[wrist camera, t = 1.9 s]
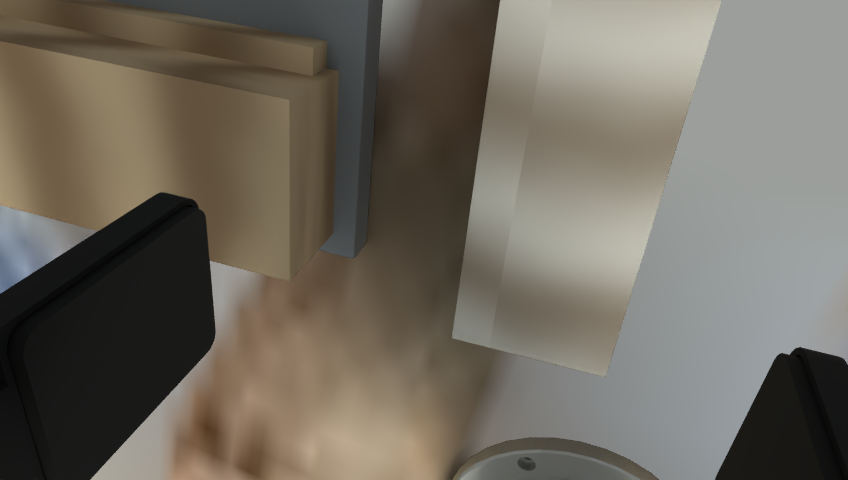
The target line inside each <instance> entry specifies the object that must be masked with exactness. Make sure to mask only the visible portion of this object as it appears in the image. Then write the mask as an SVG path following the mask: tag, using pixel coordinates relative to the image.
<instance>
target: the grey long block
mask: <svg viewBox="0 0 848 480" xmlns="http://www.w3.org/2000/svg"><path fill="white" fill-rule="evenodd" d="M721 1H722V0H500V5H499V12H498V19H497V26H496V33H495V40H494V47H493V54H492V61H491V68H490V75H489V82H488V89H487V96H486V103H485V110H484V117H483V124H482V131H481V138H480V145H479V152H478V159H477V166H476V173H475V180H474V187H473V194H472V201H471V208H470V215H469V222H468V229H467V236H466V243H465V250H464V257H463V264H462V270H461V277H460V284H459V291H458V298H457V305H456V312H455V319H454V326H453V333H452V338H453V339H457V340H461V341H465V342H469V343H473V344H477V345H481V346H484V347H488V348H492V349H496V350H500V351H504V352H508V353H512V354H516V355H520V356H524V357H527V358H531V359H535V360H539V361H543V362H547V363H551V364H555V365H559V366H563V367H567V368H570V369H574V370H578V371H583V372H587V373H590V374H594V375H598V376H602V377H606V374H607V371H608V368H609V364H610V361H611V358H612V355H613V351H614V348H615V345H616V342H617V339H618V335H619V332H620V329H621V325H622V322H623V319H624V316H625V312H626V309H627V306H628V303H629V300H630V296H631V293H632V290H633V287H634V283H635V280H636V277H637V274H638V271H639V267H640V264H641V261H642V258H643V254H644V251H645V248H646V245H647V241H648V238H649V235H650V232H651V228H652V225H653V221H654V219H655V215H656V212H657V209H658V206H659V202H660V199H661V196H662V193H663V190H664V186H665V183H666V180H667V177H668V173H669V170H670V167H671V164H672V160H673V157H674V154H675V151H676V147H677V144H678V141H679V138H680V134H681V131H682V128H683V125H684V121H685V118H686V115H687V111H688V108H689V105H690V102H691V98H692V96H693V92H694V89H695V86H696V83H697V79H698V76H699V73H700V70H701V66H702V63H703V60H704V56H705V53H706V50H707V47H708V43H709V40H710V37H711V34H712V31H713V27H714V24H715V21H716V18H717V14H718V11H719V8H720V5H721Z"/></svg>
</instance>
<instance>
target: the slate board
mask: <svg viewBox="0 0 848 480" xmlns="http://www.w3.org/2000/svg"><path fill="white" fill-rule="evenodd" d="M105 1H110V2H115V3H121V4H126V5H132V6H137V7H143V8H148V9H154V10H159V11H165V12H170V13H176V14H181V15H187V16H192V17H198V18H203V19H209V20H214V21H220V22H225V23H231V24H236V25H242V26H247V27H253V28H258V29H264V30H269V31H275V32H280V33H286V34H291V35H297V36H302V37H308V38H313V39H319V40H324V41H327V68H328V69H333V70H338V71H339V85H338V112H337V139H336V165H335V192H334V219H333V234H332V235H331V236H330V237H329V239H328V240H327V241H326V242H325V243H324V244H323V245H322V246H321V247H320V249H319V250H320V251H324V252H328V253H332V254H336V255H340V256H344V257H348V258H352V259H354V258H355V257H356V255H357V254H358V253H359V252H360V250H361V249H362V248H363V246H364V245H365V244H366V239H367V224H368V209H369V194H370V180H371V165H372V150H373V136H374V121H375V106H376V91H377V77H378V62H379V47H380V33H381V18H382V3H383V0H105Z"/></svg>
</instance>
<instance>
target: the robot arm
mask: <svg viewBox="0 0 848 480" xmlns="http://www.w3.org/2000/svg"><path fill="white" fill-rule="evenodd" d="M214 339H215V319H214V307H213V296H212V283H211V271H210V259H209V248H208V236H207V224H206V216H205V214H204V212H203V211H202V210H200V209H199V206H198V204H197V203H196V201H194V200H193V199H190V198H186V197H182V196H178V195H174V194H169V193H165V192H160V193H158V194H156V195H154V196H152V197H151V198H149V199H148V200H146V201H145V202H143V203H141V204H140V205H138V206H137V207H135V208H134V209H132V210H131V211H129V212H127V213H126V214H124V215H123V216H121V217H120V218H118V219H117V220H115V221H113V222H112V223H110V224H109V225H107V226H106V227H104V228H102V229H101V230H99V231H98V232H96V233H95V234H93V235H92V236H90V237H88V238H87V239H85V240H84V241H82V242H81V243H79V244H77V245H76V246H74V247H73V248H71V249H70V250H68V251H67V252H65V253H63V254H62V255H60V256H59V257H57V258H56V259H54V260H53V261H51V262H49V263H48V264H46V265H45V266H43V267H42V268H40V269H38V270H37V271H35V272H34V273H32V274H31V275H29V276H28V277H26V278H24V279H23V280H21V281H20V282H18V283H17V284H15V285H14V286H12V287H10V288H9V289H7V290H6V291H4V292H3V293H1V294H0V480H90V479H91V478H92V477H93V476H94V475H95V474H96V473H97V472H98V470H99V469H100V468H101V467H102V466H103V465H104V464H105V463H106V462H107V461H108V459H110V457H111V456H112V455H113V454H114V453H115V452H116V451H117V450H118V449H119V448H120V447H121V445H122V444H123V443H124V442H125V441H126V440H127V439H128V438H129V437H130V436H131V435H132V434H133V433H134V431H135V430H136V429H137V428H138V427H139V426H140V425H141V424H142V423H143V422H144V421H145V420H146V418H147V417H148V416H149V415H150V414H151V413H152V412H153V411H154V410H155V409H156V408H157V406H158V405H159V404H160V403H161V402H162V401H163V400H164V399H165V398H166V397H167V396H168V395H169V394H170V392H171V391H172V390H173V389H174V388H175V387H176V386H177V385H178V384H179V383H180V382H181V381H182V379H183V378H184V377H185V376H186V375H187V374H188V373H189V372H190V371H191V370H192V369H193V368H194V366H195V365H196V364H197V363H198V362H199V361H200V360H201V359H202V358H203V357H204V356H205V355H206V353H207V352H208V351H209V350H210V348H211V346H212V344H213V342H214ZM453 480H659V479H658V478H656V477H655V476H654V475H653V474H652V473H650V472H649V471H647V470H645V469H644V468H642V467H641V466H639V465H637V464H636V463H634V462H633V461H631V460H629V459H627V458H625V457H623V456H620V455H618V454H616V453H613V452H611V451H609V450H607V449H604V448H600V447H597V446H593V445H590V444H587V443H583V442H580V441H573V440H566V439H559V438H524V439H517V440H510V441H505V442H502V443H499V444H496V445H493V446H490V447H488V448H486V449H484V450H482V451H481V452H479V453H477V454H475V455H474V456H472V457H471V458H470V459H469V460H467V461H466V462H465V463H464V464H463V465H462V466H461V467H460V468H459V470H458V471H457V473H456V475H455V476H454V478H453ZM715 480H848V365H847V363H846V361H845V360H844V359H843V358H841V357H838V356H834V355H830V354H825V353H821V352H817V351H813V350H809V349H805V348H801V347H799V348H796V349H794V350H793V351H792V352H791V354H790V355H788V354H783V353H781V354H779V355H778V356H777V357H776V358H775V360H774V362H773V364H772V366H771V368H770V370H769V372H768V374H767V376H766V378H765V380H764V382H763V384H762V386H761V388H760V390H759V392H758V394H757V396H756V398H755V400H754V402H753V404H752V406H751V408H750V410H749V412H748V414H747V416H746V418H745V420H744V422H743V424H742V426H741V428H740V430H739V432H738V434H737V436H736V438H735V440H734V442H733V444H732V446H731V448H730V450H729V452H728V454H727V456H726V458H725V460H724V462H723V464H722V466H721V468H720V470H719V472H718V474H717V476H716V478H715Z"/></svg>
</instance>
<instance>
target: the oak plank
mask: <svg viewBox="0 0 848 480" xmlns="http://www.w3.org/2000/svg"><path fill="white" fill-rule="evenodd" d="M338 85H339V71H338V70H333V69H328V68H327V41H324V40H319V39H313V38H308V37H302V36H297V35H291V34H286V33H280V32H275V31H269V30H264V29H258V28H253V27H247V26H242V25H236V24H231V23H225V22H220V21H214V20H209V19H203V18H198V17H192V16H187V15H181V14H176V13H170V12H165V11H159V10H154V9H148V8H143V7H137V6H132V5H126V4H121V3H115V2H110V1H105V0H0V205H3V206H6V207H10V208H14V209H18V210H21V211H25V212H29V213H33V214H37V215H40V216H44V217H48V218H52V219H55V220H59V221H63V222H67V223H70V224H74V225H78V226H82V227H86V228H89V229H93V230H97V231H99V230H101V229H102V228H104V227H106V226H107V225H109V224H110V223H112V222H113V221H115V220H117V219H118V218H120V217H121V216H123V215H124V214H126V213H127V212H129V211H131V210H132V209H134V208H135V207H137V206H138V205H140V204H141V203H143V202H145V201H146V200H148V199H149V198H151V197H152V196H154V195H156V194H158V193H160V192H165V193H169V194H174V195H178V196H182V197H186V198H190V199H193V200H194V201H196V203H197V204H198V206H199V209H200V210H202V211H203V212H204V214H205V216H206V224H207V236H208V248H209V259H210V261H214V262H217V263H221V264H225V265H229V266H232V267H236V268H240V269H244V270H248V271H251V272H255V273H259V274H263V275H266V276H270V277H274V278H278V279H281V280H285V281H289V282H290V281H291V280H292V279H293V278H294V276H295V275H296V274H297V273H298V272H299V271H300V270H301V269H302V267H303V266H304V265H305V264H306V263H307V262H308V261H309V260H310V259H311V257H312V256H313V255H314V254H315V253H316V252H317V251H318V250H319V249H320V247H321V246H322V245H323V244H324V243H325V242H326V241H327V240H328V239H329V237H330V236H331V235H332V234H333V219H334V192H335V165H336V139H337V112H338Z"/></svg>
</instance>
